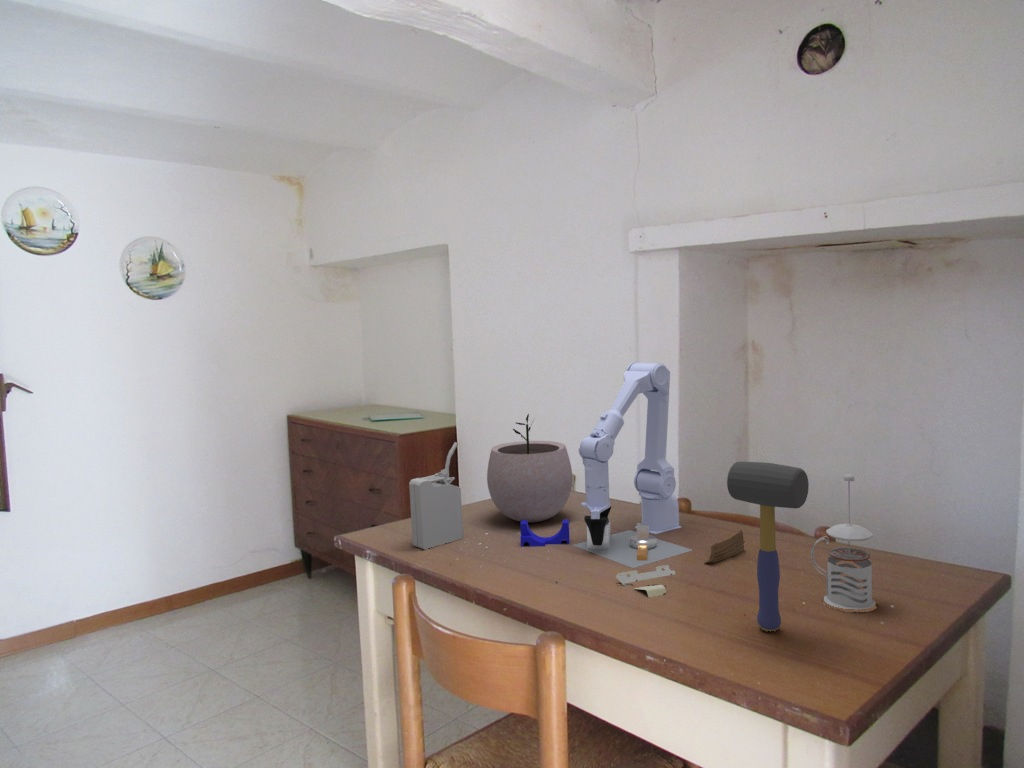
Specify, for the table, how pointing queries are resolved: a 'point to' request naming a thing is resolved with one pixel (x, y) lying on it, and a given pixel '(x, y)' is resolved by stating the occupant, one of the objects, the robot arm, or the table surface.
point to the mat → (634, 550)
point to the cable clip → (541, 541)
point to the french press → (848, 592)
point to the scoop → (643, 541)
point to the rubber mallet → (768, 521)
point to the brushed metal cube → (606, 538)
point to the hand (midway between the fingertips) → (598, 540)
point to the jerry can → (436, 508)
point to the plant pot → (529, 478)
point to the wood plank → (727, 548)
